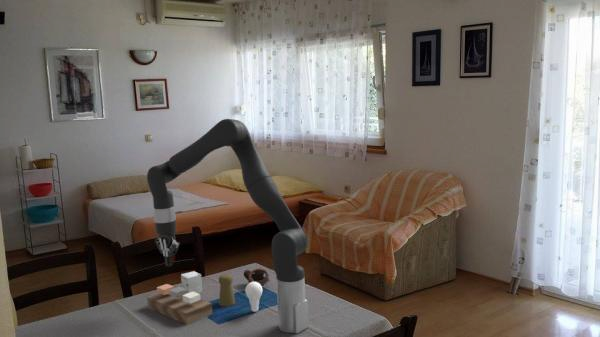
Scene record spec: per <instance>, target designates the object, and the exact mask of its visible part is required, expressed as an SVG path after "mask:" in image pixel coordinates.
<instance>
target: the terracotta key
mask: <svg viewBox="0 0 600 337" xmlns="http://www.w3.org/2000/svg"><path fill="white" fill-rule="evenodd" d="M174 288H175V286H174V285H171V284H169V283H166V284H163V285H160V286H157V287H156V294H157V293H160V294H162V295H166V294H169V290H171V289H174Z"/></svg>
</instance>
